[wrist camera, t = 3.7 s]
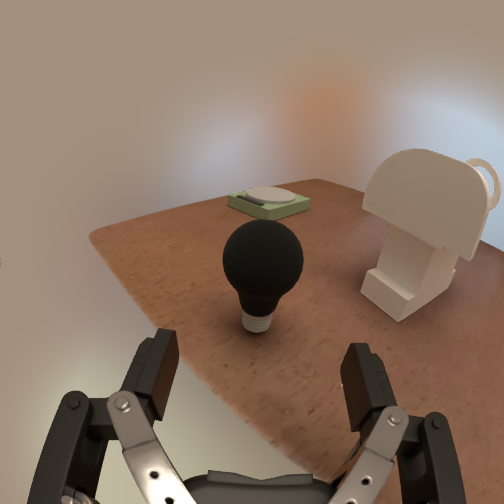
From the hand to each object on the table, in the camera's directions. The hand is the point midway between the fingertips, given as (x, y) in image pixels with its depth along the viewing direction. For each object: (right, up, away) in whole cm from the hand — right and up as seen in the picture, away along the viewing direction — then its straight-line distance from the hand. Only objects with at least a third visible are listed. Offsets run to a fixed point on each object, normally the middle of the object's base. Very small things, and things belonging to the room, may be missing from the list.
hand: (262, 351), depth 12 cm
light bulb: (0, -2, +12) cm, 12 cm away
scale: (+3, +13, +40) cm, 42 cm away
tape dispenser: (+20, -1, +18) cm, 26 cm away
